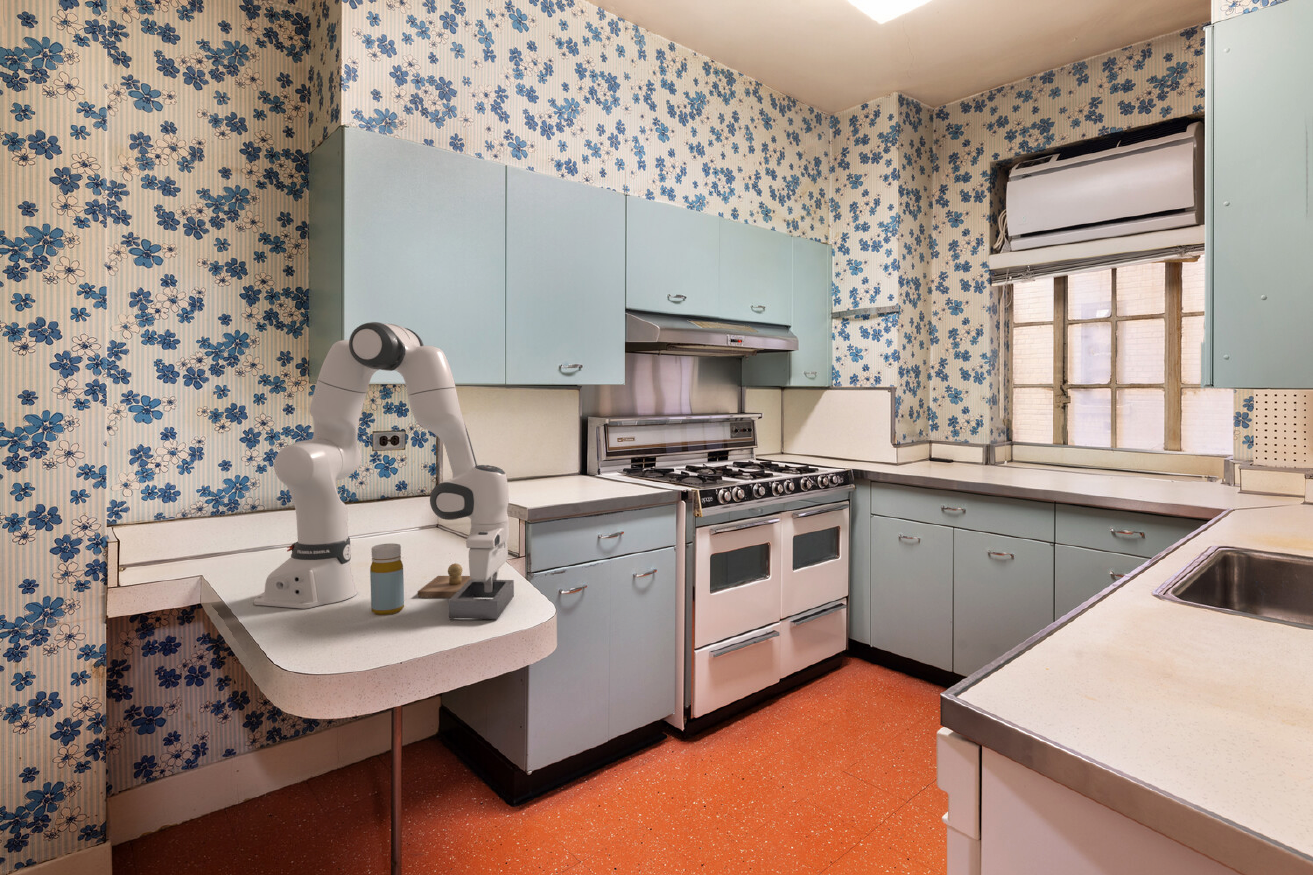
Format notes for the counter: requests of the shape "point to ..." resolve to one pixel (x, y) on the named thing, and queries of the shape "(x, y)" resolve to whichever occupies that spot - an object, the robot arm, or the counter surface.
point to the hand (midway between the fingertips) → (490, 589)
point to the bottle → (386, 579)
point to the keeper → (445, 584)
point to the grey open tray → (481, 600)
